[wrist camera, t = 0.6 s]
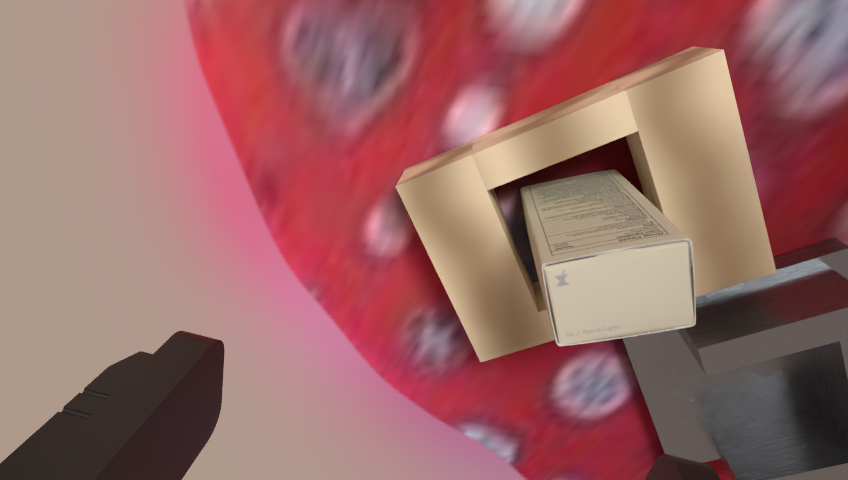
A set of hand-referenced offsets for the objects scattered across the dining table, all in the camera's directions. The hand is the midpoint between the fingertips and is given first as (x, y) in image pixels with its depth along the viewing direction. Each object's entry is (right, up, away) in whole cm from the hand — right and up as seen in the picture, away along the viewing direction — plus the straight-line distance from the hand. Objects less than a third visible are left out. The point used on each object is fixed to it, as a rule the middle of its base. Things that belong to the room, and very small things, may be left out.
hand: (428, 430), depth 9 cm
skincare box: (+10, +6, +24) cm, 26 cm away
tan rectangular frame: (+10, +6, +23) cm, 26 cm away
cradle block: (+22, -5, +26) cm, 35 cm away
